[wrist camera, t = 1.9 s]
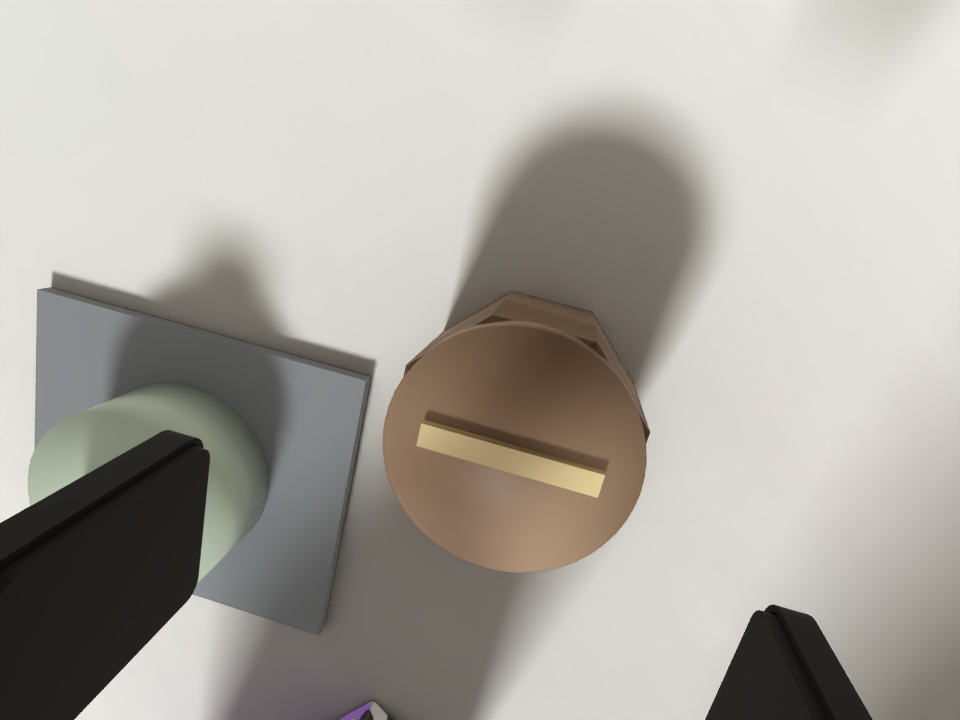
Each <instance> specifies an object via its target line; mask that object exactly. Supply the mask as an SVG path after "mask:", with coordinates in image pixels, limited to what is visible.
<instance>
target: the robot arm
mask: <svg viewBox="0 0 960 720" xmlns="http://www.w3.org/2000/svg"><path fill="white" fill-rule="evenodd" d="M209 466H210V453H209V451H208V450H206V449H204V446H203V443H202V441H201V440H200V439H199V438H196V437H192V436H189V435H185V434H182V433H178V432H175V431H172V430H164V431H162V432H160V433H158V434H156V435H155V436H153V437H151V438H149V439H148V440H146V441H144V442H142V443H140V444H139V445H137V446H135V447H133V448H132V449H130V450H128V451H126V452H125V453H123V454H121V455H119V456H118V457H116V458H114V459H112V460H111V461H109V462H107V463H105V464H104V465H102V466H100V467H98V468H96V469H95V470H93V471H91V472H89V473H88V474H86V475H84V476H82V477H81V478H79V479H77V480H75V481H74V482H72V483H70V484H68V485H67V486H65V487H63V488H61V489H60V490H58V491H56V492H54V493H53V494H51V495H49V496H47V497H45V498H44V499H42V500H40V501H38V502H37V503H35V504H33V505H31V506H30V507H28V508H26V509H24V510H23V511H21V512H19V513H17V514H16V515H14V516H12V517H10V518H9V519H7V520H5V521H3V522H1V523H0V720H74V719H75V718H76V717H77V716H78V715H79V714H80V713H81V712H82V711H83V710H84V709H85V708H86V707H87V705H88V704H89V703H90V702H91V701H92V700H93V699H94V698H95V697H96V696H97V695H98V694H99V693H100V692H101V691H102V690H103V689H104V688H105V687H106V686H107V685H108V684H109V682H110V681H111V680H112V679H113V678H114V677H115V676H116V675H117V674H118V673H119V672H120V671H121V670H122V669H123V668H124V667H125V666H126V665H127V664H128V663H129V662H130V660H131V659H132V658H133V657H134V656H135V655H136V654H137V653H138V652H139V651H140V650H141V649H142V648H143V647H144V646H145V645H146V644H147V643H148V642H149V641H150V640H151V639H152V637H153V636H154V635H155V634H156V633H157V632H158V631H159V630H160V629H161V628H162V627H163V626H164V625H165V624H166V623H167V622H168V621H169V620H170V619H171V618H172V617H173V615H174V614H175V613H176V612H177V611H178V610H179V609H180V608H181V607H182V606H183V605H184V604H185V603H186V602H187V601H188V599H189V598H190V597H191V595H192V594H193V592H194V590H195V588H196V585H197V582H198V578H199V568H200V558H201V548H202V538H203V527H204V517H205V507H206V497H207V486H208V476H209ZM705 720H872V718H871V716H870V715H869V713H868V711H867V709H866V708H865V706H864V704H863V702H862V701H861V699H860V697H859V696H858V694H857V692H856V690H855V689H854V687H853V685H852V683H851V682H850V680H849V678H848V676H847V675H846V673H845V671H844V669H843V668H842V666H841V664H840V663H839V661H838V659H837V657H836V656H835V654H834V652H833V650H832V649H831V647H830V645H829V643H828V642H827V640H826V638H825V636H824V635H823V633H822V631H821V630H820V628H819V626H818V624H817V623H816V621H815V620H814V619H813V617H812V616H810V615H808V614H804V613H801V612H797V611H794V610H790V609H787V608H783V607H780V606H776V605H770V606H768V607H767V608H766V609H765V611H760V610H758V611H756V612H755V613H754V614H753V615H752V617H751V619H750V621H749V623H748V626H747V628H746V630H745V632H744V635H743V637H742V639H741V641H740V643H739V646H738V648H737V650H736V652H735V655H734V657H733V659H732V661H731V663H730V666H729V668H728V670H727V672H726V675H725V677H724V679H723V681H722V683H721V686H720V688H719V690H718V692H717V695H716V697H715V699H714V701H713V703H712V706H711V708H710V710H709V712H708V715H707V717H706V719H705Z"/></svg>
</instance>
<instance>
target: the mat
mask: <svg viewBox="0 0 960 720" xmlns="http://www.w3.org/2000/svg"><path fill="white" fill-rule="evenodd" d="M370 380H371V376H367V375H363V374H360V373H356V372H353V371H349V370H345V369H342V368H338V367H335V366H331V365H327V364H324V363H320V362H317V361H313V360H309V359H306V358H302V357H299V356H295V355H291V354H288V353H284V352H280V351H277V350H273V349H270V348H266V347H262V346H259V345H255V344H252V343H248V342H244V341H241V340H237V339H234V338H230V337H226V336H223V335H219V334H216V333H212V332H208V331H205V330H201V329H198V328H194V327H190V326H187V325H183V324H180V323H176V322H172V321H169V320H165V319H162V318H158V317H154V316H151V315H147V314H144V313H140V312H136V311H133V310H129V309H126V308H122V307H118V306H115V305H111V304H107V303H104V302H100V301H97V300H93V299H89V298H86V297H82V296H79V295H75V294H71V293H68V292H64V291H61V290H57V289H53V288H44V289H37V340H36V401H35V448H36V446H37V445H38V443H39V441H40V440H41V438H42V437H43V436H44V435H45V434H46V432H47V431H48V430H49V429H50V428H52V427H53V426H54V425H55V424H56V423H58V422H60V421H62V420H63V419H65V418H67V417H69V416H72V415H74V414H77V413H79V412H82V411H84V410H87V409H89V408H92V407H94V406H97V405H99V404H102V403H104V402H107V401H109V400H111V399H114V398H116V397H119V396H121V395H124V394H126V393H129V392H131V391H134V390H136V389H139V388H141V387H144V386H147V385H151V384H156V383H167V382H171V383H181V384H186V385H190V386H194V387H197V388H199V389H202V390H204V391H206V392H209V393H211V394H213V395H214V396H216V397H218V398H219V399H221V400H222V401H224V402H225V403H226V404H227V405H229V406H230V407H231V408H232V409H234V410H235V411H236V412H237V413H238V415H239V416H240V417H241V418H242V419H243V420H244V421H245V422H246V424H247V425H248V426H249V428H250V429H251V430H252V432H253V434H254V435H255V437H256V439H257V441H258V443H259V445H260V447H261V449H262V452H263V455H264V458H265V461H266V466H267V471H268V482H269V486H268V497H267V501H266V505H265V508H264V511H263V513H262V515H261V517H260V519H259V521H258V522H257V524H256V525H255V526H254V528H253V529H252V530H251V531H250V532H249V533H248V534H247V535H246V536H245V537H244V538H243V539H242V540H241V541H240V542H239V543H238V544H237V545H236V546H235V547H234V548H233V549H232V550H231V551H230V552H229V553H228V554H227V555H226V556H225V557H224V558H223V559H222V560H221V561H220V562H219V563H218V564H217V565H216V566H215V567H214V568H212V569H211V570H210V571H209V572H208V573H207V574H206V575H205V576H204V577H203V578H202V579H201V580H200V581H199V582H198V583H197V585H196V588H195V590H194V592H193V595H196V596H199V597H203V598H206V599H209V600H212V601H215V602H218V603H221V604H224V605H227V606H230V607H233V608H237V609H240V610H243V611H246V612H249V613H252V614H255V615H258V616H261V617H264V618H267V619H271V620H274V621H277V622H280V623H283V624H286V625H289V626H292V627H295V628H298V629H301V630H304V631H308V632H311V633H314V634H317V635H319V634H320V632H321V631H322V629H323V627H324V625H325V620H326V615H327V609H328V604H329V599H330V593H331V588H332V583H333V577H334V572H335V567H336V561H337V556H338V551H339V545H340V540H341V535H342V529H343V524H344V519H345V513H346V508H347V503H348V497H349V492H350V487H351V481H352V476H353V471H354V465H355V460H356V455H357V449H358V444H359V439H360V433H361V428H362V423H363V417H364V412H365V407H366V401H367V396H368V391H369V385H370Z"/></svg>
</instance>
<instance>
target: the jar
mask: <svg viewBox="0 0 960 720" xmlns="http://www.w3.org/2000/svg"><path fill="white" fill-rule="evenodd" d="M164 430H172V431H175V432H178V433H182V434H185V435H189V436H192V437H196V438H199V439H200V440H201V441H202V443H203V446H204V449H206V450H208V451H209V453H210V466H209V476H208V486H207V497H206V507H205V517H204V527H203V538H202V548H201V558H200V568H199V578H198V582H199V581H200V580H201V579H202V578H203V577H204V576H205V575H206V574H207V573H208V572H209V571H210V570H211V569H212V568H214V567H215V566H216V565H217V564H218V563H219V562H220V561H221V560H222V559H223V558H224V557H225V556H226V555H227V554H228V553H229V552H230V551H231V550H232V549H233V548H234V547H235V546H236V545H237V544H238V543H239V542H240V541H241V540H242V539H243V538H244V537H245V536H246V535H247V534H248V533H249V532H250V531H251V530H252V529H253V528H254V526H255V525H256V524H257V522H258V521H259V519H260V517H261V515H262V513H263V511H264V508H265V505H266V501H267V497H268V486H269V482H268V471H267V466H266V461H265V458H264V455H263V452H262V449H261V447H260V445H259V443H258V441H257V439H256V437H255V435H254V434H253V432H252V430H251V429H250V428H249V426H248V425H247V424H246V422H245V421H244V420H243V419H242V418H241V417H240V416H239V415H238V413H237V412H236V411H235V410H234V409H232V408H231V407H230V406H229V405H227V404H226V403H225V402H224V401H222V400H221V399H219V398H218V397H216V396H214V395H213V394H211V393H209V392H206V391H204V390H202V389H199V388H197V387H194V386H190V385H186V384H181V383H171V382H167V383H156V384H151V385H147V386H144V387H141V388H139V389H136V390H134V391H131V392H129V393H126V394H124V395H121V396H119V397H116V398H114V399H111V400H109V401H107V402H104V403H102V404H99V405H97V406H94V407H92V408H89V409H87V410H84V411H82V412H79V413H77V414H74V415H72V416H69V417H67V418H65V419H63V420H62V421H60V422H58V423H56V424H55V425H54V426H53V427H52V428H50V429H49V430H48V431H47V432H46V434H45V435H44V436H43V437H42V438H41V440H40V441H39V443H38V445H37V446H36V448H35V451H34V453H33V456H32V458H31V462H30V467H29V474H28V492H29V499H30V504H31V505H33V504H35V503H37V502H38V501H40V500H42V499H44V498H45V497H47V496H49V495H51V494H53V493H54V492H56V491H58V490H60V489H61V488H63V487H65V486H67V485H68V484H70V483H72V482H74V481H75V480H77V479H79V478H81V477H82V476H84V475H86V474H88V473H89V472H91V471H93V470H95V469H96V468H98V467H100V466H102V465H104V464H105V463H107V462H109V461H111V460H112V459H114V458H116V457H118V456H119V455H121V454H123V453H125V452H126V451H128V450H130V449H132V448H133V447H135V446H137V445H139V444H140V443H142V442H144V441H146V440H148V439H149V438H151V437H153V436H155V435H156V434H158V433H160V432H162V431H164ZM198 582H197V583H198Z"/></svg>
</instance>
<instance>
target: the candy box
mask: <svg viewBox="0 0 960 720" xmlns="http://www.w3.org/2000/svg"><path fill="white" fill-rule="evenodd" d="M339 720H392V719H391V718H390V717H389V716H388V715H387V714H386V713H385V712H384V711H383V710H382V708H381V707H380V706H379V705H378V704H377V703H375V702H369V703H367V704H365V705H364V706H362V707H360V708H358V709H356V710H354V711H352V712H351V713H349V714H347V715H346V716H344V717H342V718H340V719H339Z"/></svg>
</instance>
